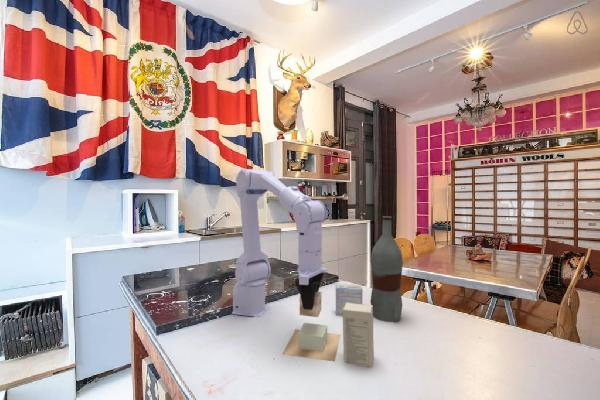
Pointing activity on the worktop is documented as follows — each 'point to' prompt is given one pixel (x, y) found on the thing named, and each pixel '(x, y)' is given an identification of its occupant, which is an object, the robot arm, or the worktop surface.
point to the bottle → (386, 276)
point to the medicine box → (347, 296)
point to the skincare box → (358, 334)
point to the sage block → (312, 337)
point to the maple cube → (316, 307)
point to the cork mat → (327, 354)
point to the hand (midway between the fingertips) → (310, 304)
